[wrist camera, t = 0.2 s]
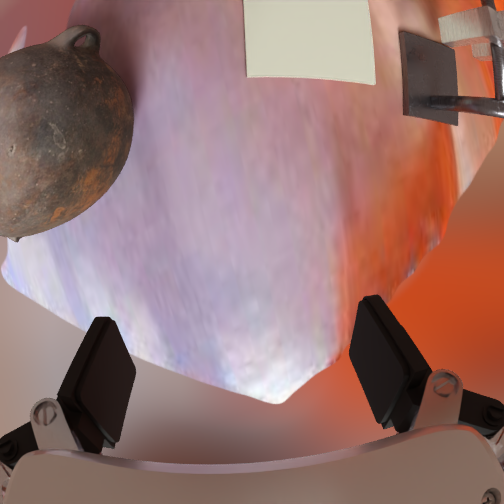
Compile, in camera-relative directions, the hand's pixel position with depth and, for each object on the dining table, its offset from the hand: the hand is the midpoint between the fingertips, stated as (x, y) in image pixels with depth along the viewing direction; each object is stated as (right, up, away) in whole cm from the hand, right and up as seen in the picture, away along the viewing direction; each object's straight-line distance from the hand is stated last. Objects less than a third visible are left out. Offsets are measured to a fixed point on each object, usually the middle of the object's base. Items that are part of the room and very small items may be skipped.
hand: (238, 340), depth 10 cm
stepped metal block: (+29, +32, +11) cm, 45 cm away
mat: (+8, +35, +19) cm, 40 cm away
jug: (-24, +21, +23) cm, 39 cm away
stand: (+28, +35, +20) cm, 49 cm away
